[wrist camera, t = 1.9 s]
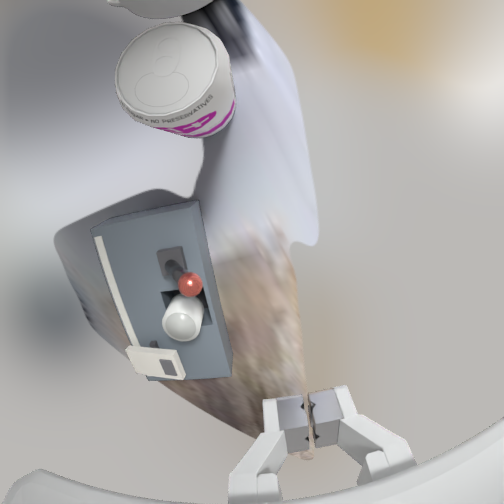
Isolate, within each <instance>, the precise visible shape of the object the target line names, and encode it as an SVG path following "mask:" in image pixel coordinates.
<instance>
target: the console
mask: <svg viewBox="0 0 504 504" xmlns="http://www.w3.org/2000/svg"><path fill="white" fill-rule="evenodd" d="M90 230H91V234H92V237H93V241H94V244H95V248H96V251H97V254H98V258H99V261H100V264H101V267H102V270H103V273H104V276H105V279H106V282H107V285H108V288H109V291H110V294H111V296H112V299H113V302H114V304H115V307H116V310H117V312H118V315H119V317H120V320H121V322H122V325H123V327H124V330H125V332H126V334H127V337H128V339H129V341H130V343H131V346H139V347H149V348H159V349H171V350H177V353H178V355H179V358H180V361H181V363H182V366H183V368H184V371H185V373H186V376H185V378H184V380H190V379H206V378H219V377H230V376H232V359H233V352H232V348H231V344H230V340H229V336H228V332H227V328H226V324H225V320H224V315H223V311H222V307H221V303H220V298H219V294H218V290H217V285H216V281H215V276H214V272H213V267H212V263H211V258H210V254H209V249H208V244H207V239H206V235H205V230H204V225H203V220H202V215H201V210H200V205H199V200H195V201H190V202H185V203H180V204H174V205H169V206H165V207H160V208H155V209H150V210H146V211H141V212H137V213H132V214H128V215H123V216H119V217H115V218H111V219H108V220H106V221H104V222H102V223H100V224H99V225H97V226H95V227H93V228H91V229H90ZM170 259H173V260H175V261H177V262H178V263H179V264H180V265H181V266H182V267H184V268H185V269H186V270H187V271H188V272H193V273H196V274H198V275H199V276H200V278H201V280H202V283H203V287H202V290H201V292H200V293H199V294H198V295H196V297H197V298H199V299H200V300H201V302H202V303H203V306H204V315H203V319H202V323H201V328H200V332H199V334H198V336H197V337H196V338H194V339H193V340H190V341H178V340H175V339H173V338H171V337H170V336H169V335H168V334H167V333H166V332H165V331H164V329H163V326H162V319H163V317H164V315H165V312H166V310H167V308H168V306H169V304H170V302H171V300H172V298H173V297H174V296H176V295H178V294H181V292H180V291H179V288H178V284H177V282H176V281H175V280H174V279H173V278H172V277H171V276H170V275H169V274H168V273H167V271H166V270H165V263H166V261H168V260H170ZM146 377H147V379H148V380H149V381H162V380H178V379H170V378H162V377H155V376H149V375H146Z"/></svg>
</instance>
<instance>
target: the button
mask: <svg viewBox="0 0 504 504" xmlns="http://www.w3.org/2000/svg"><path fill="white" fill-rule="evenodd" d="M203 315H204V306H203V303H202V302H201V300H200V299H199V298H197V297H196V296H194V297H187V296H184V295H183V294H182V293H181V294H178V295H176V296H174V297H173V298H172V300H171V302H170V304H169V306H168V308H167V310H166V312H165V315H164V317H163V319H162V326H163V329H164V331H165V332H166V333H167V334H168V335H169V336H170V337H171V338H173V339H175V340H178V341H190V340H193V339H194V338H196V337H197V336H198V334H199V332H200V328H201V323H202V319H203Z"/></svg>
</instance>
